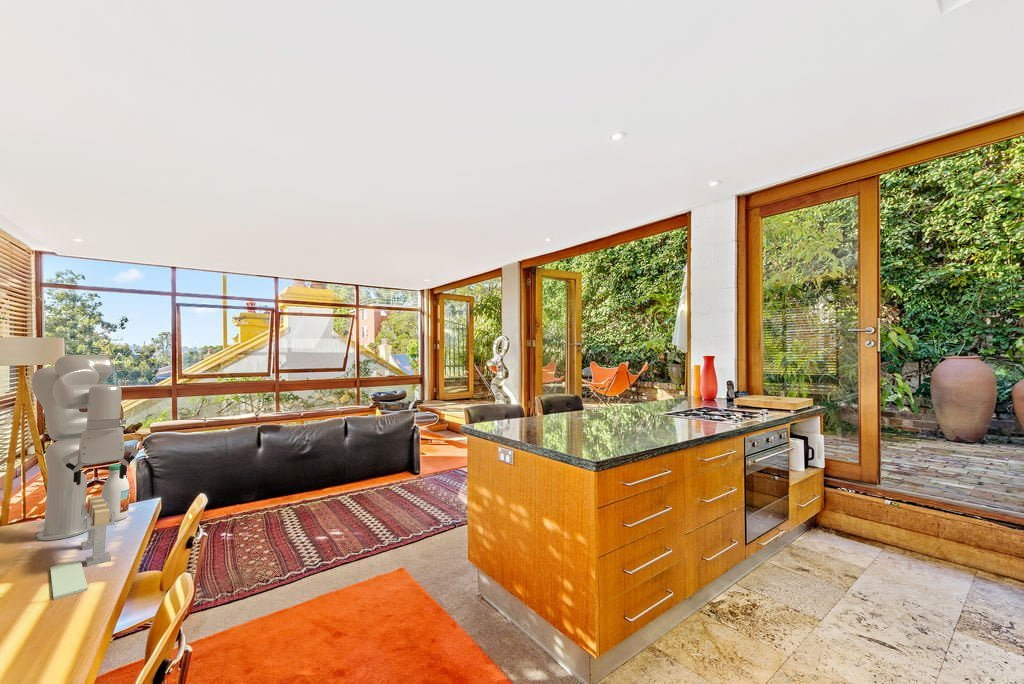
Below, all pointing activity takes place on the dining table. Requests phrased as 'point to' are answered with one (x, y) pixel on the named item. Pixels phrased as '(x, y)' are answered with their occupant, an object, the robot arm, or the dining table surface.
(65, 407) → the robot arm
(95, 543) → the post
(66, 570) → the mat
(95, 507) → the rail
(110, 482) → the milk bottle
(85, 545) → the post
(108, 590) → the dining table surface
